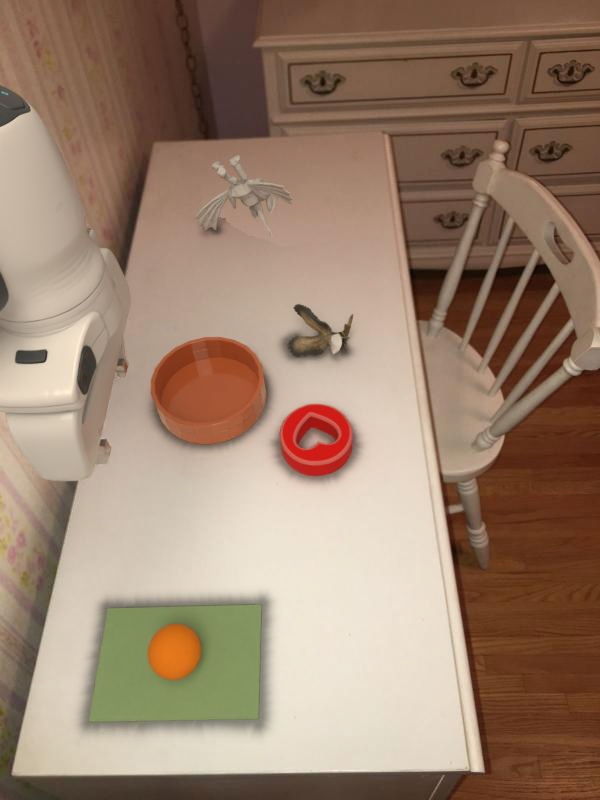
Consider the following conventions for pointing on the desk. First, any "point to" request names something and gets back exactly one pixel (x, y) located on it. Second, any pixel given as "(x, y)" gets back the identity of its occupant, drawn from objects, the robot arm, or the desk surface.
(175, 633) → the orange
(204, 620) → the felt mat
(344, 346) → the eagle figurine
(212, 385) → the pot
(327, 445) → the decorative ornament
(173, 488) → the desk surface
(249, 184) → the grey winged dragon figurine
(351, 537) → the desk surface
